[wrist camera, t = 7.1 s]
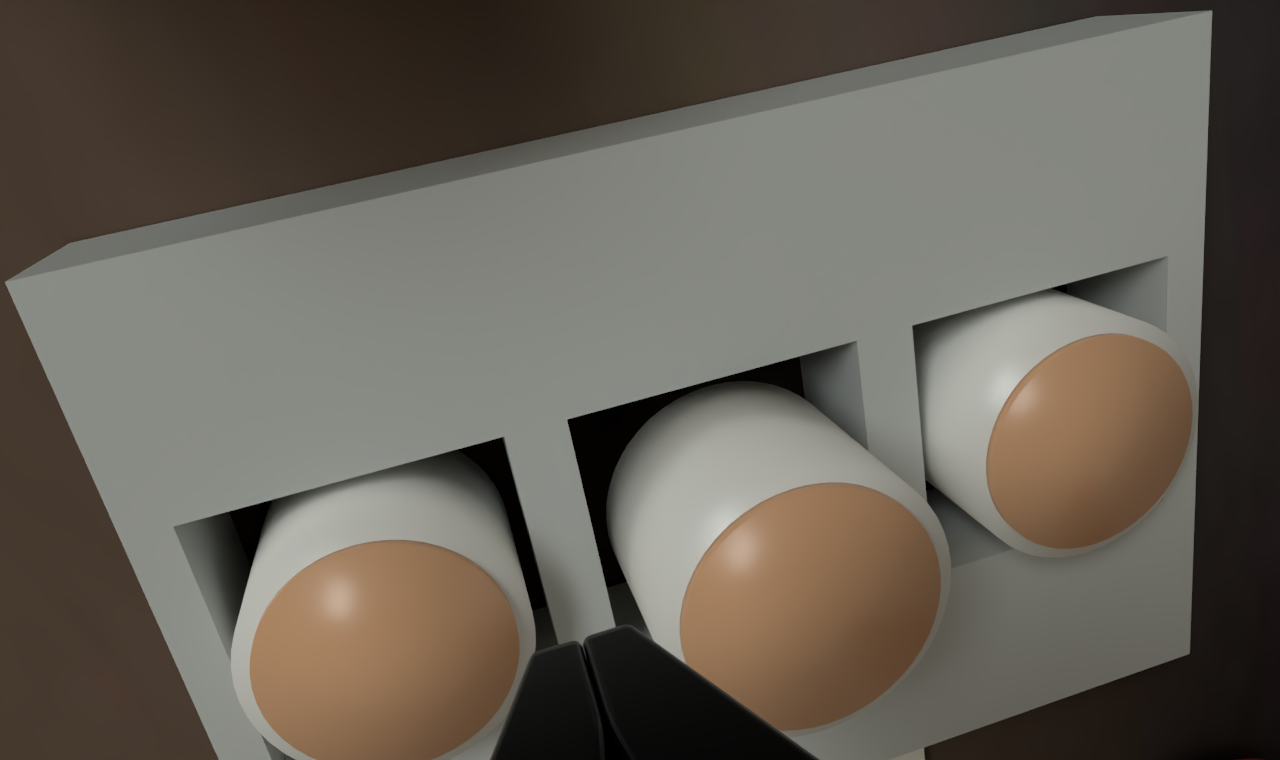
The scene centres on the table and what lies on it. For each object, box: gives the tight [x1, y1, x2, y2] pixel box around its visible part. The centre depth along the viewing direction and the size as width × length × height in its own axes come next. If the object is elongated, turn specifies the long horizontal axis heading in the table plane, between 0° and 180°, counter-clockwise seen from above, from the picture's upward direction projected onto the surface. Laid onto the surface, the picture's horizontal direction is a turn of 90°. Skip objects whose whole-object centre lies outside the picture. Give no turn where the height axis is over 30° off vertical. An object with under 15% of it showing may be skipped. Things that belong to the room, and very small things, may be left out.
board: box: [5, 11, 1212, 760], centre depth 19 cm, size 20×14×3 cm
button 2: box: [912, 288, 1198, 558], centre depth 19 cm, size 5×5×4 cm
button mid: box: [606, 381, 951, 737], centre depth 16 cm, size 5×5×4 cm
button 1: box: [231, 450, 536, 760], centre depth 17 cm, size 5×5×4 cm
